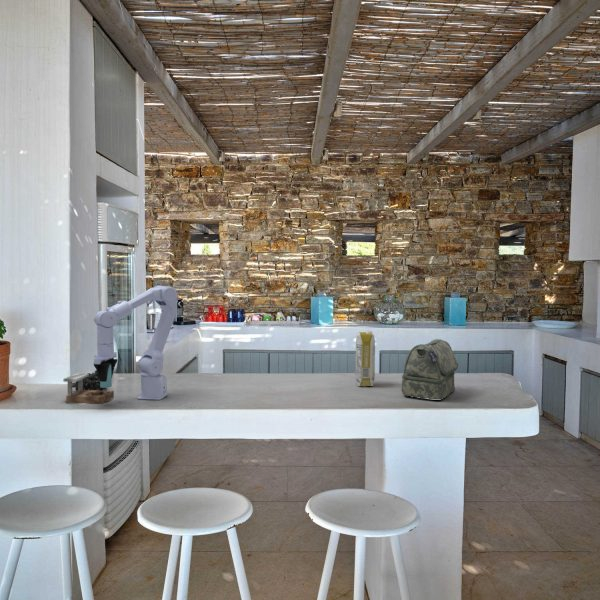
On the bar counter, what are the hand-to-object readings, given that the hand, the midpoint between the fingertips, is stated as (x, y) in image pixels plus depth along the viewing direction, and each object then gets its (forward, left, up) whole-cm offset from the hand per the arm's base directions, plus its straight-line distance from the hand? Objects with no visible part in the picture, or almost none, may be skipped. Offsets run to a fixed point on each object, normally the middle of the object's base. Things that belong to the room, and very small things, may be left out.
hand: (106, 380), depth 205 cm
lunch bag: (-122, -33, -10) cm, 127 cm away
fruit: (+16, -21, -10) cm, 28 cm away
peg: (0, 0, -2) cm, 2 cm away
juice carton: (-96, -46, -9) cm, 107 cm away
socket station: (+9, -6, -9) cm, 14 cm away
